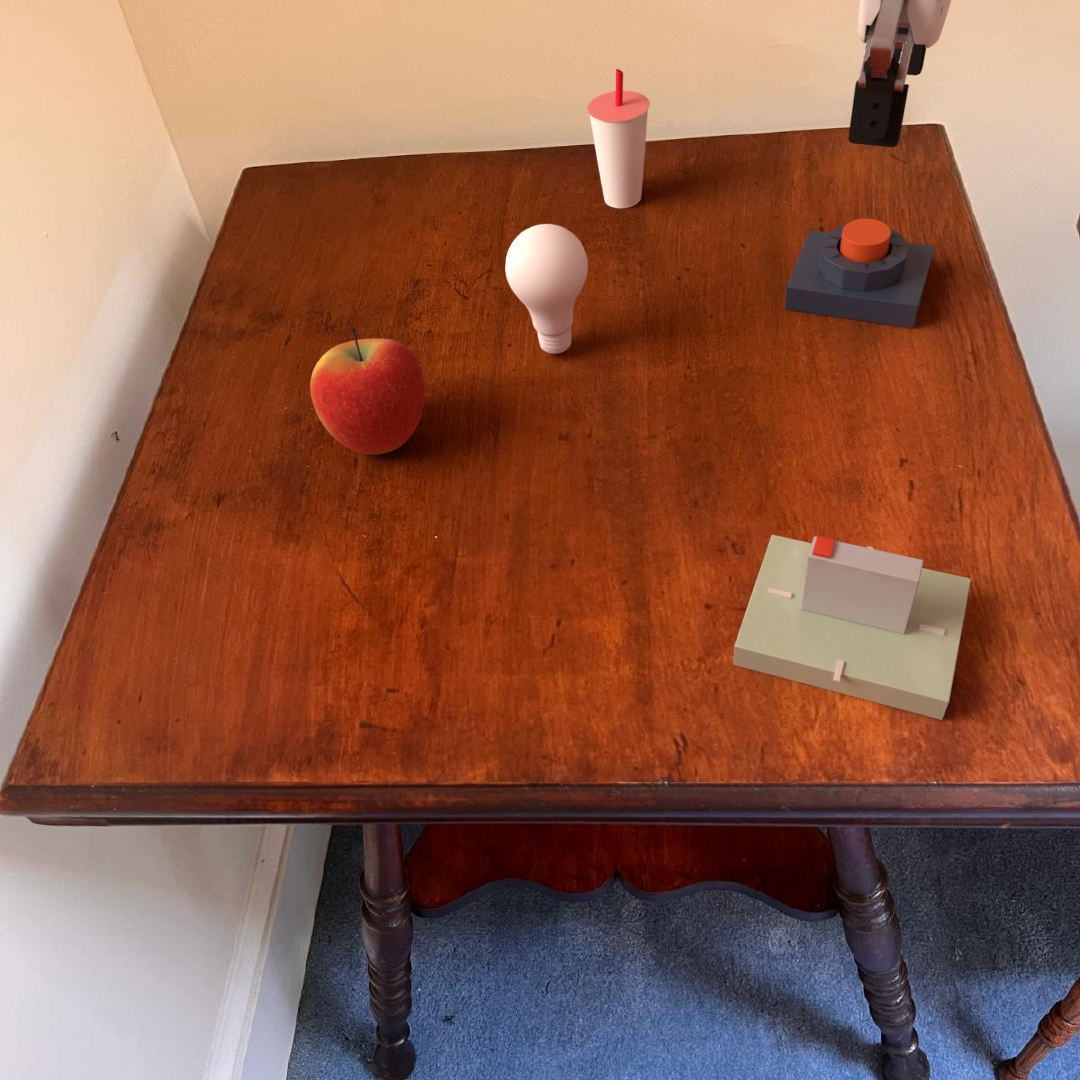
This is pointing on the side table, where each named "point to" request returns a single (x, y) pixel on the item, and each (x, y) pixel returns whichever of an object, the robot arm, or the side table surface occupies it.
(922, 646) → the panel
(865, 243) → the button
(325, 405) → the apple
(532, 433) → the side table surface
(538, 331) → the lightbulb
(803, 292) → the button block
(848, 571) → the tap handle
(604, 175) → the cup
